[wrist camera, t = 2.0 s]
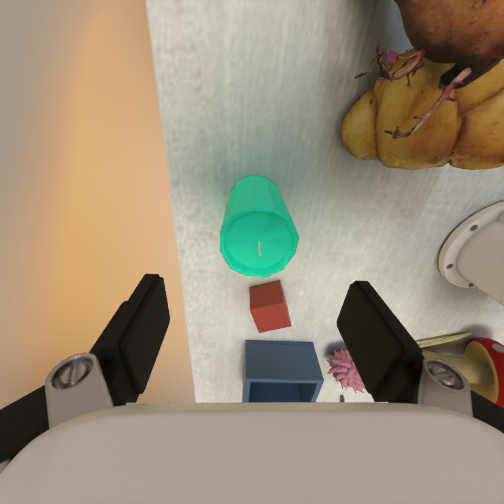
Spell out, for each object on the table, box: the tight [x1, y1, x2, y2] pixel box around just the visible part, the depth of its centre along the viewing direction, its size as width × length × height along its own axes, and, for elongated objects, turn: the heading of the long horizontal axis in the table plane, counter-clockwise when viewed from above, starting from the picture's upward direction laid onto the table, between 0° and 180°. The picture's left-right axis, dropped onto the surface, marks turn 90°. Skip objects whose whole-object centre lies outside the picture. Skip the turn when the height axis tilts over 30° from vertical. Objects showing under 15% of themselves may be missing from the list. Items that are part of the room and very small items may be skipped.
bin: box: [242, 340, 324, 403], centre depth 38 cm, size 12×12×7 cm
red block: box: [250, 281, 291, 333], centre depth 31 cm, size 4×4×4 cm
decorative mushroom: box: [422, 337, 504, 408], centre depth 36 cm, size 11×11×15 cm
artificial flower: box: [327, 332, 472, 393], centre depth 37 cm, size 7×7×25 cm
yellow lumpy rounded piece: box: [341, 48, 504, 170], centre depth 18 cm, size 13×10×8 cm
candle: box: [220, 175, 299, 277], centre depth 20 cm, size 6×6×12 cm
